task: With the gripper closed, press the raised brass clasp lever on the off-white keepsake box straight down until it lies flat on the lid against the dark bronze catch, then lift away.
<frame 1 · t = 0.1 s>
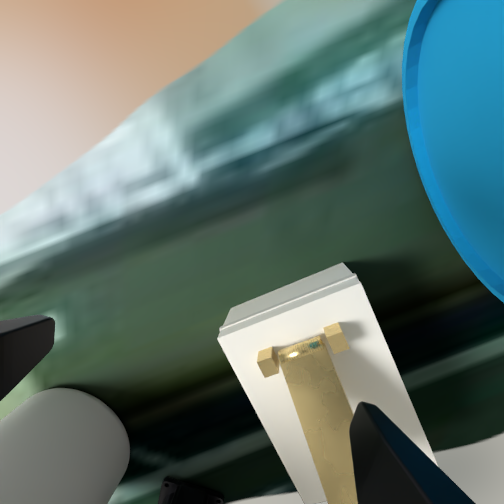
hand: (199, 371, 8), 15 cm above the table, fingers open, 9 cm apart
alarm clock: (451, 152, 19), on the table
keepsake box: (319, 361, 23), on the table
cylinder vase: (78, 434, 28), on the table
brass clasp lever: (330, 426, 15), point 8 cm above the table, hinge at 30.0°
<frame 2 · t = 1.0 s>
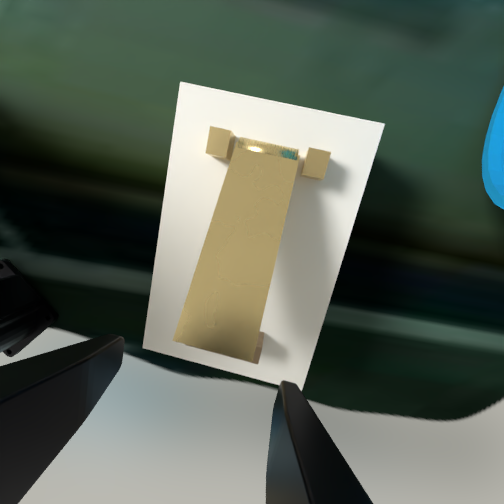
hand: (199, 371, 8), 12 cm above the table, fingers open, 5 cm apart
keepsake box: (255, 237, 19), on the table
brass clasp lever: (245, 235, 11), point 8 cm above the table, hinge at 30.0°
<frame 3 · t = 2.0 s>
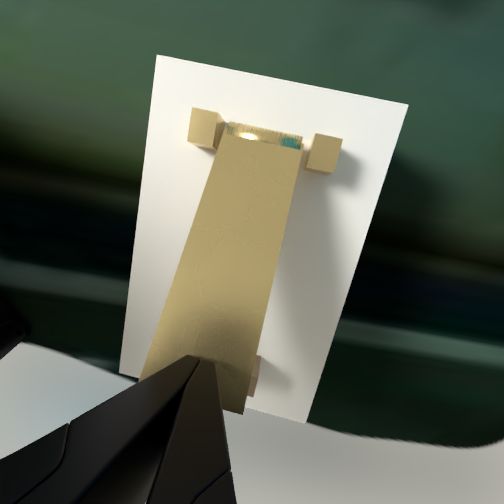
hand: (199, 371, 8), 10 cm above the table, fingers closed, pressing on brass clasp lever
keepsake box: (251, 242, 17), on the table
brass clasp lever: (235, 244, 9), point 8 cm above the table, hinge at 30.0°, touching gripper
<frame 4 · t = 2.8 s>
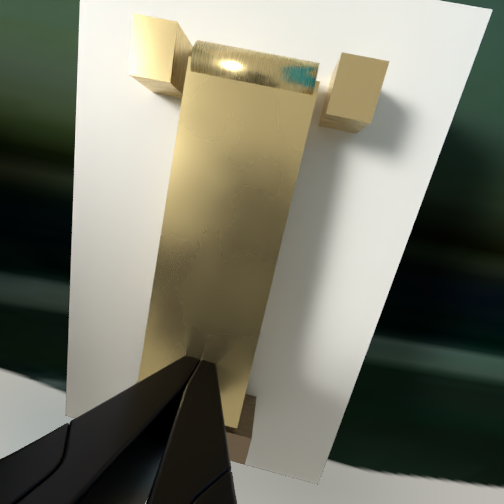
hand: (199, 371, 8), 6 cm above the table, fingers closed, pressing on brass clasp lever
keepsake box: (244, 236, 13), on the table
brass clasp lever: (220, 250, 7), point 6 cm above the table, hinge at 4.5°, touching gripper
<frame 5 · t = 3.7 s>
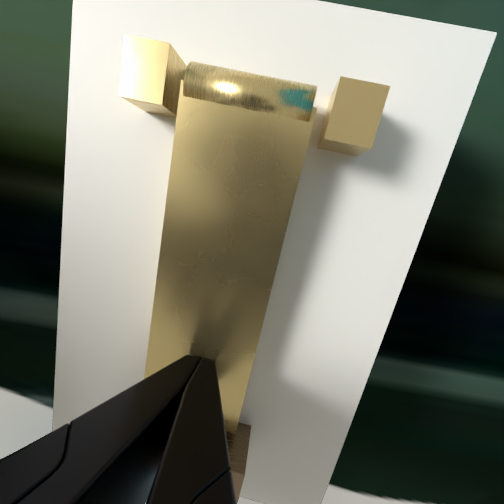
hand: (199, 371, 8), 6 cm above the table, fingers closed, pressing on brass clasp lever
keepsake box: (241, 253, 13), on the table
brass clasp lever: (217, 271, 7), point 6 cm above the table, hinge at -1.9°, touching gripper
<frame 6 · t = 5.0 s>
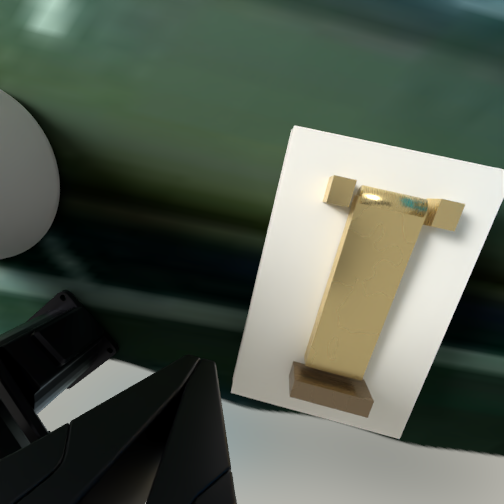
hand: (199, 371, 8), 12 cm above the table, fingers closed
keepsake box: (333, 271, 19), on the table
brass clasp lever: (359, 288, 13), point 6 cm above the table, hinge at -2.1°, touching keepsake box
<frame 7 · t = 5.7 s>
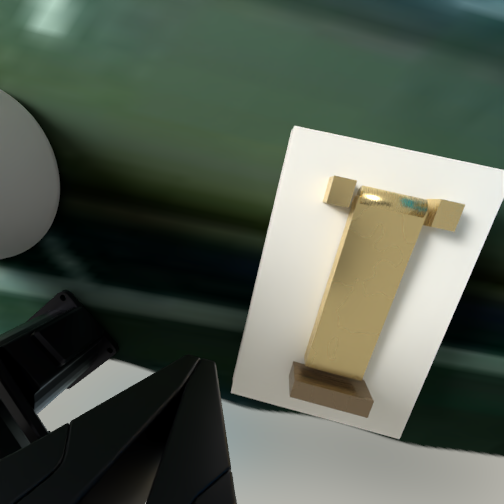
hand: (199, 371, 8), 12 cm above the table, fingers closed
keepsake box: (333, 271, 19), on the table
brass clasp lever: (359, 288, 13), point 6 cm above the table, hinge at -2.1°, touching keepsake box
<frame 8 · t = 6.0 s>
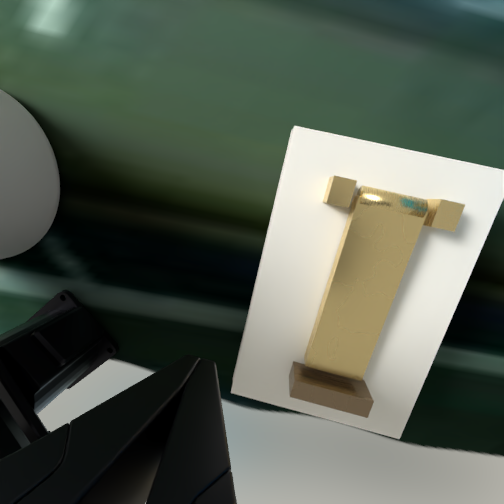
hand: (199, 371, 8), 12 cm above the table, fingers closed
keepsake box: (333, 271, 19), on the table
brass clasp lever: (359, 288, 13), point 6 cm above the table, hinge at -2.1°, touching keepsake box
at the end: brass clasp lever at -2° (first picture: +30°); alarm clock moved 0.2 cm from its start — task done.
